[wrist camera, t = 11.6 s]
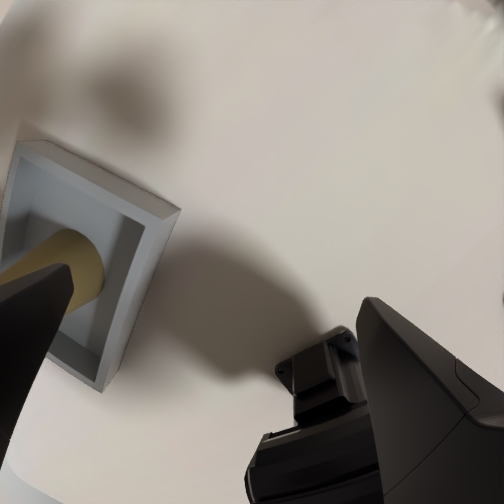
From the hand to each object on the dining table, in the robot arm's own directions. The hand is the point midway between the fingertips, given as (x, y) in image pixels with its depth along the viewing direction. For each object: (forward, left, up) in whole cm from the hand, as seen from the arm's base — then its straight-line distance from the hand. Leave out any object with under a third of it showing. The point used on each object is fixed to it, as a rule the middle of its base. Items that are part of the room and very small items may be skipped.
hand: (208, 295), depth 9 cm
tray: (+4, +13, -12) cm, 19 cm away
